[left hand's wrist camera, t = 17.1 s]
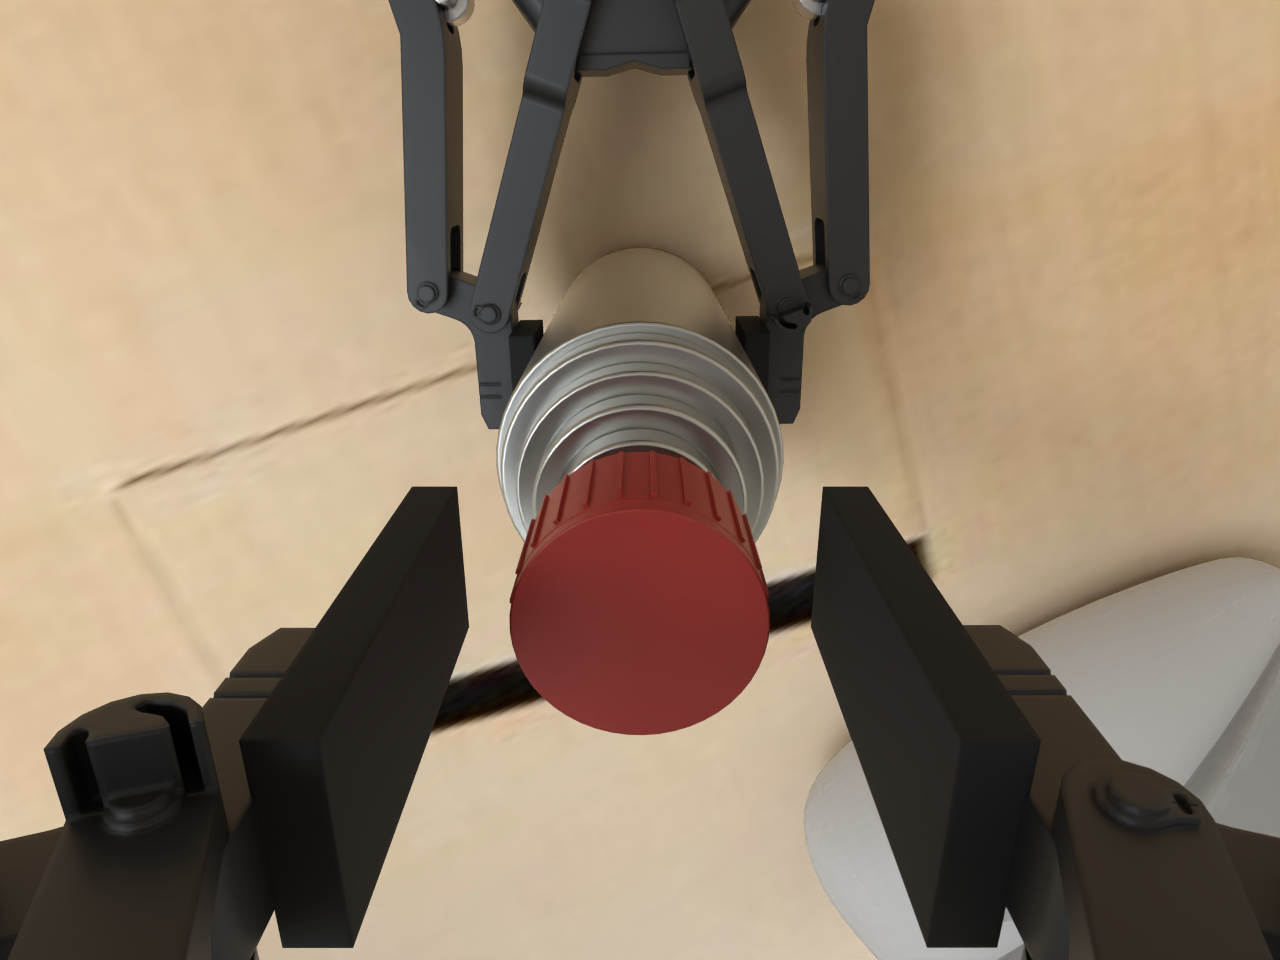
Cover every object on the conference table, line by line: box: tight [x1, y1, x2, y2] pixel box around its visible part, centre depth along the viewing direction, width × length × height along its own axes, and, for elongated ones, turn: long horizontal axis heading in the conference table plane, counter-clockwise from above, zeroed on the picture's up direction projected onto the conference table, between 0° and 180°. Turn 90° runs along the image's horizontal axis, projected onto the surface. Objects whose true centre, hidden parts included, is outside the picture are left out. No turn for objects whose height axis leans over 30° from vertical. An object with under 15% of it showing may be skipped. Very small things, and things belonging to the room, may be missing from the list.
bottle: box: [496, 248, 783, 542], centre depth 23 cm, size 6×6×21 cm
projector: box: [804, 557, 1280, 960], centre depth 33 cm, size 22×23×15 cm
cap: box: [510, 451, 770, 735], centre depth 14 cm, size 4×4×2 cm
